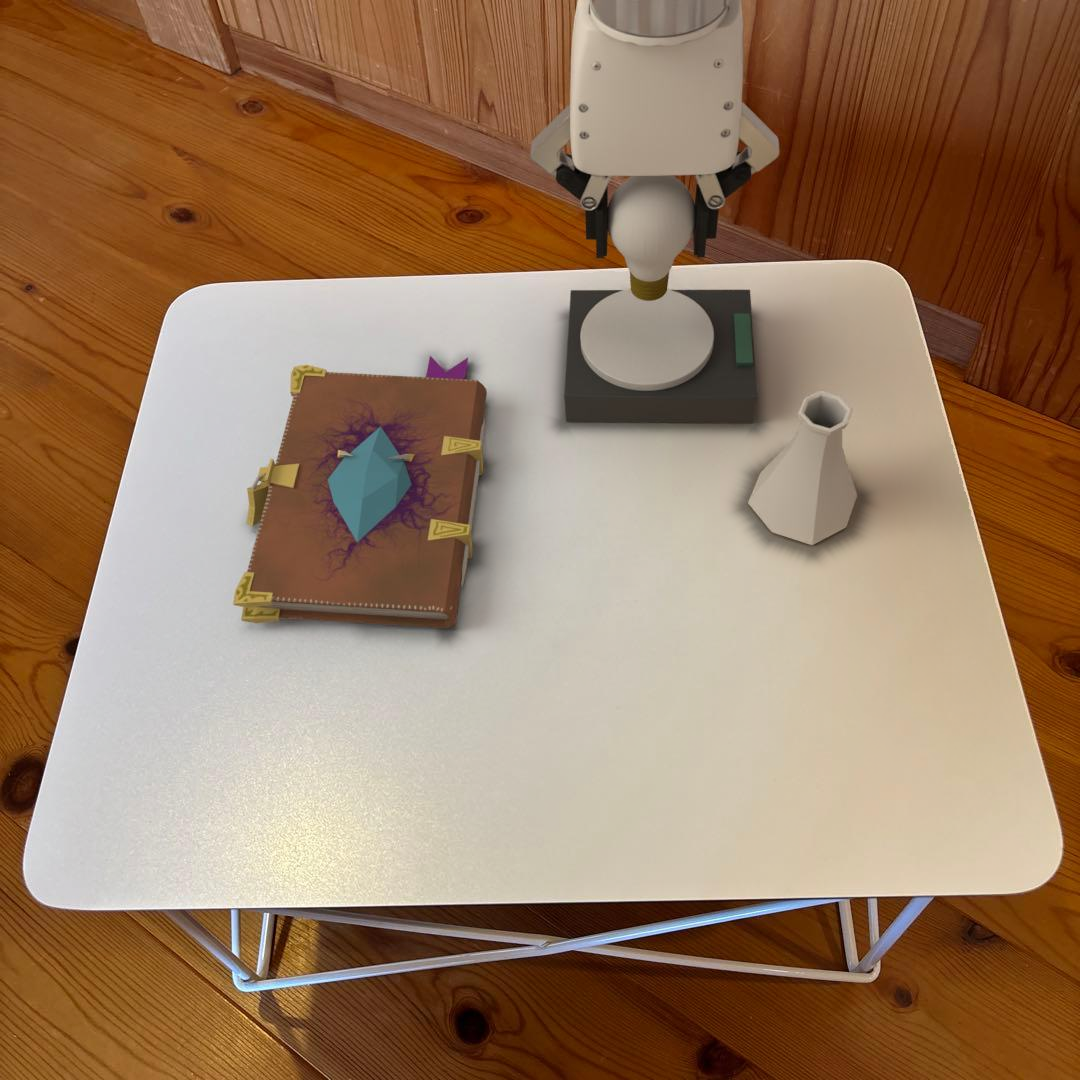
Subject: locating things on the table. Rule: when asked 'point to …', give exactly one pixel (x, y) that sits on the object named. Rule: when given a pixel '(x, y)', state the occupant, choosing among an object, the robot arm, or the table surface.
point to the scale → (660, 357)
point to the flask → (809, 476)
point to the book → (368, 500)
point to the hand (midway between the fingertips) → (650, 242)
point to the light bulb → (650, 229)
